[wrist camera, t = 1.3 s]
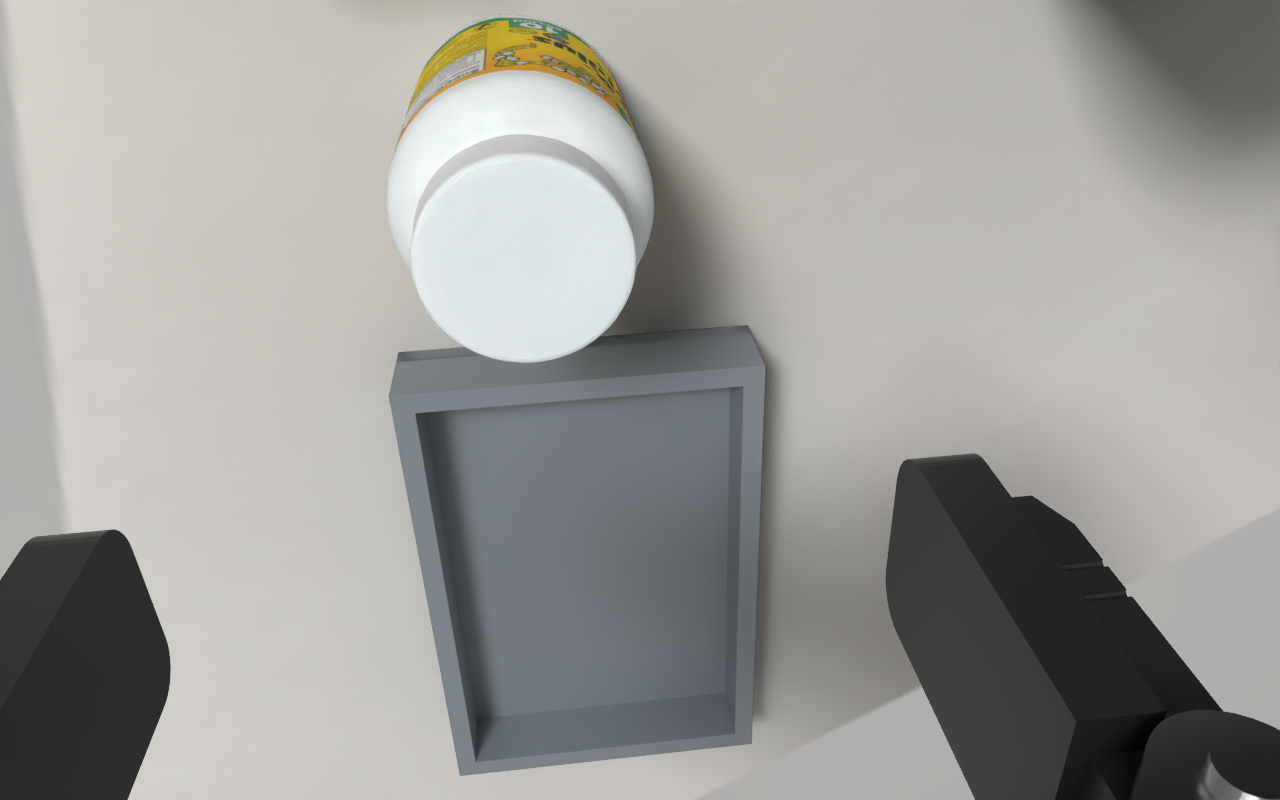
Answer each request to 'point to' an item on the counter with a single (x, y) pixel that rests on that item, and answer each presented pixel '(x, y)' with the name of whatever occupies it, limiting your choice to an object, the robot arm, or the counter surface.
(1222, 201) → the counter surface
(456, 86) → the supplement bottle
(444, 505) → the tray
